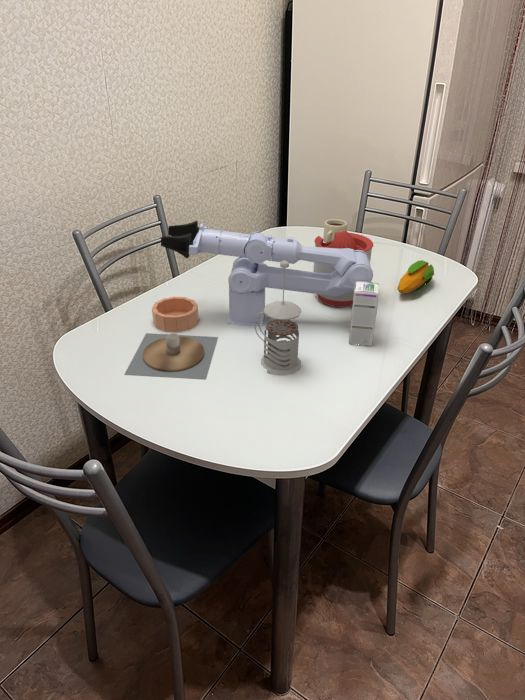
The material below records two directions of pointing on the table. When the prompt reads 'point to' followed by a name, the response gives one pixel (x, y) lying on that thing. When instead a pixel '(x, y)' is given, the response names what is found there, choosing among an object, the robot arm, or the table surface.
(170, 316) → the bowl
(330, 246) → the citrus juicer
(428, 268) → the corn
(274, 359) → the french press
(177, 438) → the table surface
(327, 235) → the character mug
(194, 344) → the lid
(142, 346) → the mat
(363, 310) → the syrup box
